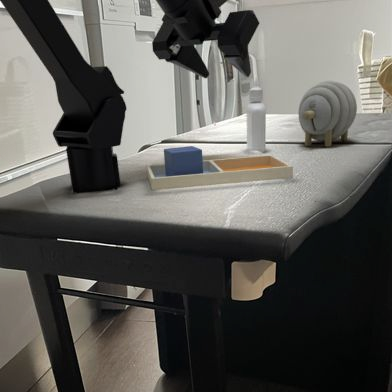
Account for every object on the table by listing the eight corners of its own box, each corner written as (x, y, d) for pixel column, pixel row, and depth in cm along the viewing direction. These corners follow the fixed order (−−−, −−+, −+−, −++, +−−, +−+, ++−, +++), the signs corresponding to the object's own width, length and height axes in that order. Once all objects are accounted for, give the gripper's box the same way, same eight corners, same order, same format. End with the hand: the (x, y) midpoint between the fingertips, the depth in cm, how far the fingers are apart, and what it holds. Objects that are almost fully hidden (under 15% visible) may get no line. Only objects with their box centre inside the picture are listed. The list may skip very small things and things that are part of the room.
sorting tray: (152, 194, 76) (151, 178, 75) (147, 179, 85) (146, 165, 84) (292, 181, 78) (293, 166, 77) (272, 168, 88) (272, 154, 87)
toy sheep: (364, 138, 110) (369, 77, 105) (336, 151, 98) (340, 83, 93) (314, 137, 116) (317, 79, 110) (281, 150, 103) (282, 85, 98)
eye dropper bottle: (239, 153, 103) (238, 82, 97) (251, 148, 107) (250, 80, 101) (261, 153, 101) (261, 81, 95) (272, 148, 105) (272, 79, 100)
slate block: (174, 185, 77) (171, 152, 75) (166, 180, 81) (163, 149, 79) (203, 181, 78) (202, 149, 76) (194, 176, 82) (192, 145, 80)
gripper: (251, -59, 76) (294, 32, 88) (158, -38, 87) (207, 40, 100) (216, 7, 75) (264, 90, 87) (126, 19, 86) (180, 91, 98)
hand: (227, 75), depth 93 cm, fingers open, 9 cm apart
